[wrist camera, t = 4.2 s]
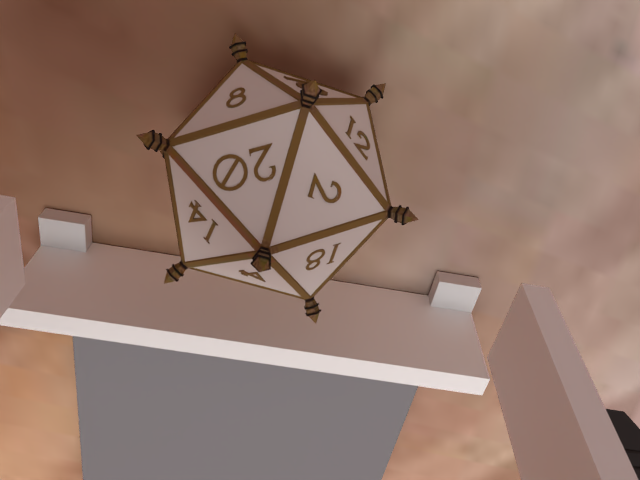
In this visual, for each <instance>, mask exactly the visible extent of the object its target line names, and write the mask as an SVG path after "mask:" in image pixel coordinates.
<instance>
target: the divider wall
mask: <svg viewBox="0 0 640 480" xmlns="http://www.w3.org/2000/svg"><path fill="white" fill-rule="evenodd" d="M38 221H39V231H40V241H41V246H40V247H39V249H38V250H37V251H36V253H35V254H34V255H33V257H32V258H31V260H30V261H29V262H28V264H27V265H26V266H25V268H24V273H25V281H26V284H25V285H24V287H23V288H22V290H21V291H20V292H19V294H18V295H17V296H16V298H15V299H14V300H13V302H12V303H11V305H10V306H9V307H8V309H7V310H6V311H5V313H4V314H3V315H2V317H1V318H0V325H2V326H9V327H16V328H23V329H30V330H37V331H44V332H50V333H57V334H64V335H71V336H78V337H85V338H92V339H99V340H105V341H112V342H119V343H126V344H133V345H140V346H147V347H153V348H160V349H167V350H174V351H181V352H188V353H195V354H202V355H208V356H215V357H222V358H229V359H236V360H243V361H250V362H257V363H263V364H270V365H277V366H284V367H291V368H298V369H305V370H311V371H318V372H325V373H332V374H339V375H346V376H353V377H360V378H366V379H373V380H380V381H387V382H394V383H401V384H408V385H414V386H421V387H428V388H435V389H442V390H449V391H456V392H463V393H469V394H476V395H483V393H484V390H485V388H486V386H487V384H488V382H489V380H490V377H489V374H488V370H487V367H486V363H485V360H484V356H483V353H482V349H481V345H480V342H479V338H478V335H477V331H476V328H475V324H474V321H473V317H472V313H471V312H472V310H473V307H474V305H475V303H476V300H477V298H478V296H479V293H480V291H481V289H482V288H481V285H480V282H479V279H478V278H477V277H471V276H464V275H458V274H452V273H446V272H440V271H437V273H436V276H435V278H434V281H433V284H432V287H431V289H430V292H429V295H422V294H415V293H409V292H403V291H396V290H390V289H384V288H377V287H371V286H365V285H358V284H352V283H346V282H339V281H333V280H329V281H328V282H327V283H326V284H325V285H324V286H323V288H322V289H321V290H320V291H319V292H318V293H317V294H316V295H315V296H314V299H315V301H316V302H317V303H319V305H318V307H319V310H320V309H321V312H320V313H319V316H318V319H317V322H316V323H315V322H314V321H313V320H312V319H311V318H310V317H309V316H306V314H305V313H306V310H305V309H304V306H305V300H303V299H300V298H296V297H292V296H289V295H285V294H281V293H278V292H274V291H270V290H266V289H263V288H259V287H255V286H252V285H248V284H244V283H241V282H237V281H233V280H229V279H226V278H222V277H218V276H215V275H211V274H207V273H203V272H200V271H196V270H192V269H189V268H188V269H186V270H185V272H184V273H183V274H184V276H183V277H182V276H181V277H180V278H179V280H178V282H176V281H174V282H170V283H165V284H164V281H165V277H166V273H167V270H166V269H170V268H171V267H172V264H174V265H175V264H177V263H179V262H180V261H181V257H180V256H175V255H168V254H162V253H156V252H150V251H143V250H137V249H131V248H124V247H118V246H112V245H105V244H99V243H93V242H92V224H91V215H86V214H80V213H74V212H68V211H62V210H55V209H49V208H45V209H44V211H43V212H42V213H41V214H40V216H39V217H38Z"/></svg>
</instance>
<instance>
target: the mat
mask: <svg viewBox="0 0 640 480" xmlns="http://www.w3.org/2000/svg"><path fill="white" fill-rule="evenodd" d="M73 346H74V360H75V374H76V388H77V402H78V416H79V429H80V443H81V457H82V471H83V480H381V479H382V477H383V474H384V472H385V469H386V466H387V464H388V461H389V459H390V456H391V454H392V451H393V449H394V446H395V444H396V441H397V439H398V436H399V433H400V431H401V428H402V426H403V423H404V421H405V418H406V416H407V413H408V411H409V408H410V406H411V403H412V400H413V398H414V395H415V393H416V390H417V388H418V386H414V385H408V384H401V383H394V382H387V381H380V380H373V379H366V378H360V377H353V376H346V375H339V374H332V373H325V372H318V371H311V370H305V369H298V368H291V367H284V366H277V365H270V364H263V363H257V362H250V361H243V360H236V359H229V358H222V357H215V356H208V355H202V354H195V353H188V352H181V351H174V350H167V349H160V348H153V347H147V346H140V345H133V344H126V343H119V342H112V341H105V340H99V339H92V338H85V337H78V336H73Z"/></svg>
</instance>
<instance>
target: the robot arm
mask: <svg viewBox="0 0 640 480" xmlns="http://www.w3.org/2000/svg"><path fill="white" fill-rule="evenodd" d="M25 284H26V281H25V273H24V264H23V256H22V248H21V239H20V231H19V222H18V214H17V205H16V197H10V196H4V195H0V318H1V317H2V315H3V314H4V313H5V311H6V310H7V309H8V307H9V306H10V305H11V303H12V302H13V300H14V299H15V298H16V296H17V295H18V294H19V292H20V291H21V290H22V288H23V287H24V285H25ZM487 359H488V362H489V366H490V369H491V373H492V377H493V380H494V384H495V387H496V391H497V394H498V398H499V402H500V405H501V409H502V412H503V416H504V420H505V423H506V427H507V430H508V434H509V438H510V441H511V445H512V448H513V452H514V455H515V459H516V463H517V466H518V470H519V473H520V477H521V480H640V429H639V428H638V427H637V425H636V424H635V423H634V422H633V421H632V420H631V419H630V418H629V417H628V416H627V414H626V413H625V412H623V411H616V410H610V409H605V406H604V404H603V402H602V400H601V398H600V396H599V394H598V391H597V389H596V387H595V385H594V383H593V381H592V378H591V376H590V374H589V372H588V370H587V368H586V366H585V363H584V361H583V359H582V357H581V355H580V353H579V350H578V348H577V346H576V344H575V342H574V340H573V338H572V335H571V333H570V331H569V329H568V327H567V325H566V322H565V320H564V318H563V316H562V314H561V312H560V310H559V307H558V305H557V303H556V301H555V299H554V297H553V294H552V292H551V290H550V288H549V287H543V286H537V285H531V284H525V283H521V285H520V287H519V289H518V292H517V294H516V296H515V298H514V300H513V302H512V305H511V307H510V309H509V311H508V313H507V315H506V318H505V320H504V322H503V324H502V326H501V328H500V331H499V333H498V335H497V337H496V339H495V341H494V344H493V346H492V348H491V350H490V352H489V354H488V356H487Z"/></svg>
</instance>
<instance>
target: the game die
mask: <svg viewBox="0 0 640 480" xmlns="http://www.w3.org/2000/svg"><path fill="white" fill-rule="evenodd" d="M245 46H246V42H243V41H242V40H241V39H240V38H239V37H238V36H237V35H236V34H234V37H233V41H232V44H231V46H230V47H229V48H230V49H232V52H233V53H232V56H234V57H235V58H236V60H237V64H236V65H235V66H234V67H233V68H232V69H231V70H230V71H229V72H228V73H227V74H226V76H225V77H224V78H223V79H222V80H221V81H220V82H219V83H218V84H217V85H216V87H215V88H214V89H213V90H212V91H211V92H210V93H209V94H208V95H207V96H206V97H205V99H204V100H203V101H202V102H201V103H200V104H199V105H198V106H197V107H196V108H195V109H194V111H193V112H192V113H191V114H190V115H189V116H188V117H187V118H186V119H185V120H184V122H183V123H182V124H181V125H180V126H179V127H178V128H177V129H176V130H175V131H174V132H173V134H172V135H171V136H170V137H169V138H168V139H165V138H164V137H163V136H162V133H159V134H157V133H155V131H154V130H152V131H150V132H148V133H144V134H140V135H137V137H138V138H139V139H140V140H141V141H142V142H143V143H144V146H145V147H146V148H147V149H148V150H149V149H150V148H151V149H154V151H155V152H157V151H158V150H161V151H160V152H161V154H162V155H163V156H162V157H163V158H164V159H165V163H166V169H167V176H168V182H169V188H170V194H171V201H172V207H173V213H174V220H175V226H176V232H177V238H178V245H179V251H180V257H181V261H180V262H179V263H177V264H175V265H174V264H172V267H171V268H170V269H166V270H167V273H166V277H165V281H164V284H165V283H170V282H174V281H176V282H178V280H179V278H180V277H181V276H182V277H183V276H184V274H183V273H184V272H185V270H186V269H188V268H189V269H192V270H196V271H200V272H203V273H207V274H211V275H215V276H218V277H222V278H226V279H229V280H233V281H237V282H241V283H244V284H248V285H252V286H255V287H259V288H263V289H266V290H270V291H274V292H278V293H281V294H285V295H289V296H292V297H296V298H300V299H303V300H305V306H304V309H305V310H306V313H305V314H306V316H309V317H310V318H311V319H312V320H313V321H314V322H315V323H316V322H317V319H318V316H319V313H320V312H321V309H320V310H319V307H318V305H319V303H317V302H316V301H315V299H314V296H315V295H316V294H317V293H318V292H319V291H320V290H321V289H322V288H323V286H324V285H325V284H326V283H327V282H328V281H329V280H330V279H331V278H332V277H333V276H334V275H335V274H336V273H337V272H338V271H339V269H340V268H341V267H342V266H343V265H344V264H345V263H346V262H347V261H348V260H349V259H350V258H351V257H352V256H353V255H354V254H355V253H356V251H357V250H358V249H359V248H360V247H361V246H362V245H363V244H364V243H365V242H366V241H367V240H368V239H369V238H370V237H371V236H372V234H373V233H374V232H375V231H376V230H377V229H378V228H379V227H380V226H381V225H382V224H383V223H384V222H385V221H386V220H387V219H388V218H391V219H393V220H395V221H394V222H395V223H397V222H400V223H402V225H404V224H406V223H408V222H412V221H415V220H418V219H417V218H416V217H415V215H414V214H413V213H412V212H411V211H410V210H409V207H406V208H402V207H401V205H399V207H392V206H391V202H390V198H389V193H388V189H387V184H386V180H385V175H384V171H383V166H382V162H381V157H380V153H379V148H378V144H377V139H376V135H375V130H374V126H373V121H372V117H371V112H370V108H369V106H370V104H372V103H374V102H376V103H377V102H378V100H379V99H380V98H383V92H384V88H385V84H380V85H373V86H371V89H369V90H368V91H367V92H366V95H365V97H360V96H357V95H354V94H351V93H348V92H345V91H341V90H338V89H335V88H332V87H329V86H326V85H323V84H320V83H317V82H316V80H314V81H311V80H308V79H305V78H302V77H299V76H296V75H293V74H290V73H287V72H284V71H281V70H278V69H275V68H272V67H268V66H265V65H262V64H259V63H256V62H253V61H250V60H248V59H247V58H246V53H247V49H246V48H245Z"/></svg>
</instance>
